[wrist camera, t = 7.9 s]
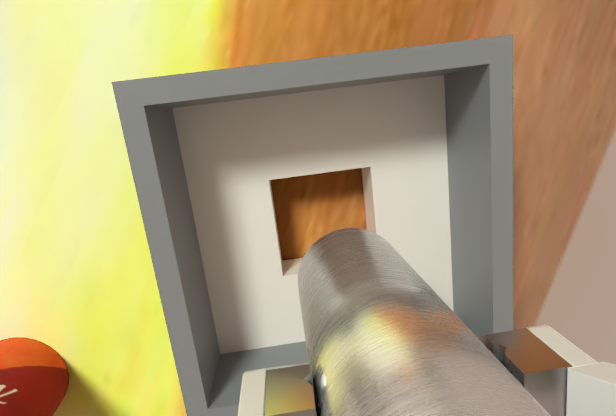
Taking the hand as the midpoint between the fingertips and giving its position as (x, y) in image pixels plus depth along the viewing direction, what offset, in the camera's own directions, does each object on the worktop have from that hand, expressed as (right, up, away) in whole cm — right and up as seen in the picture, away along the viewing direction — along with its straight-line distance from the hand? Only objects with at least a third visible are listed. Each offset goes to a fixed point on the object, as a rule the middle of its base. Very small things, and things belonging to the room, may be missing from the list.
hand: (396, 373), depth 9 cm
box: (-1, +4, +15) cm, 16 cm away
